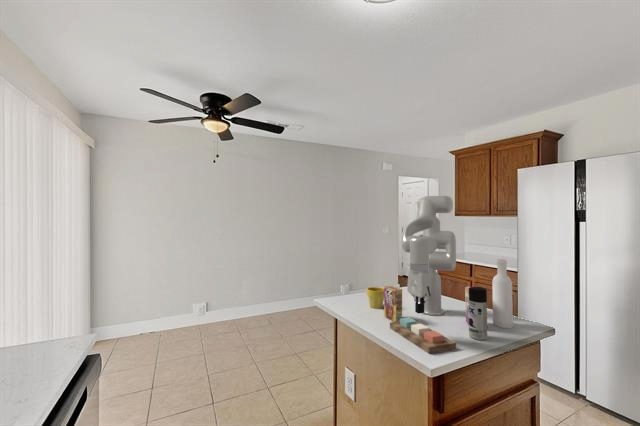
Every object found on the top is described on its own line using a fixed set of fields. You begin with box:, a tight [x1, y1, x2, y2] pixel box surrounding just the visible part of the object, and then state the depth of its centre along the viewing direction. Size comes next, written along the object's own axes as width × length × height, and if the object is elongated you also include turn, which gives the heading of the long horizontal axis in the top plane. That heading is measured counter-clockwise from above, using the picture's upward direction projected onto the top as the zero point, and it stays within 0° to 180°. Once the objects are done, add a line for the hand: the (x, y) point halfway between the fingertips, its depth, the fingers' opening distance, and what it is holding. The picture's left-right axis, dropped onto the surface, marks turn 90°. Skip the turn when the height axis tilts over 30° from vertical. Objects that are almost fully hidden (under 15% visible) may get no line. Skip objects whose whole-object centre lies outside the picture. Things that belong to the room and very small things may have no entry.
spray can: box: [468, 286, 488, 341], centre depth 119 cm, size 7×7×20 cm
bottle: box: [491, 258, 514, 329], centre depth 133 cm, size 8×8×30 cm
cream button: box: [411, 323, 430, 336], centre depth 118 cm, size 5×5×3 cm
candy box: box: [383, 285, 403, 322], centre depth 141 cm, size 9×4×15 cm, turn 26°
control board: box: [389, 321, 457, 355], centre depth 118 cm, size 26×12×2 cm, turn 18°
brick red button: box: [424, 330, 444, 344], centre depth 111 cm, size 5×5×3 cm
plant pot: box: [366, 286, 384, 309], centre depth 160 cm, size 10×10×10 cm
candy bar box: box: [464, 286, 470, 326], centre depth 132 cm, size 11×5×16 cm, turn 163°
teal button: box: [400, 317, 418, 328], centre depth 126 cm, size 5×5×3 cm
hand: (419, 312), depth 118 cm, fingers closed
